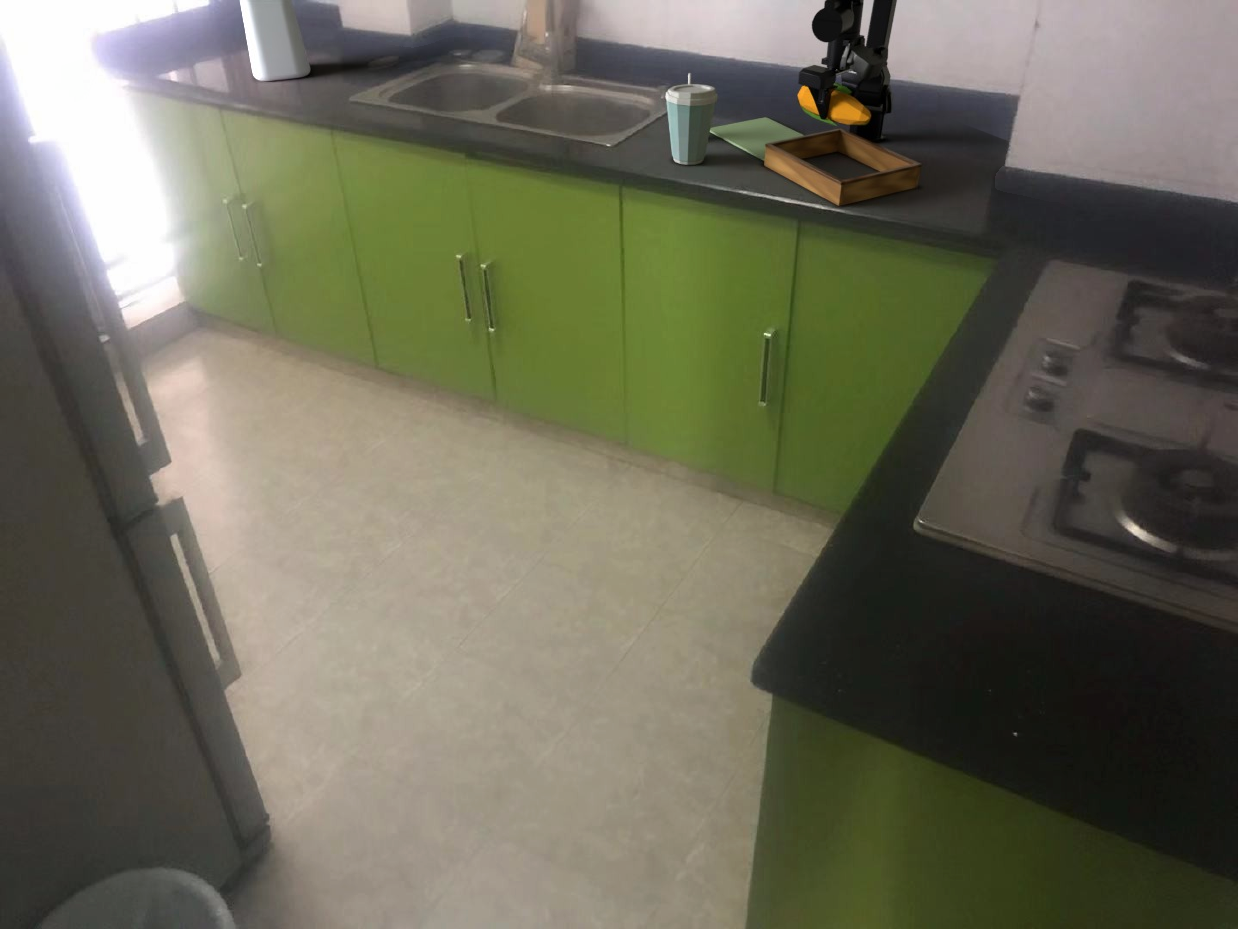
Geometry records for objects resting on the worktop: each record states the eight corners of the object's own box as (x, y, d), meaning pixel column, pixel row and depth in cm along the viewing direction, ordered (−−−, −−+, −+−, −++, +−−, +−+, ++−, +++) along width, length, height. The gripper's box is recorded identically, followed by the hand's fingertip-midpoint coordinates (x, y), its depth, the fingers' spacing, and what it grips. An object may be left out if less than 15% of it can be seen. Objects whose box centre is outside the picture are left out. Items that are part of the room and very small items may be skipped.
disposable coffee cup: (656, 156, 203) (656, 83, 194) (700, 148, 206) (703, 76, 197) (677, 171, 195) (679, 96, 186) (724, 163, 198) (727, 89, 189)
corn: (818, 67, 191) (888, 91, 177) (816, 105, 196) (884, 131, 182) (789, 76, 188) (858, 101, 175) (788, 114, 193) (855, 141, 179)
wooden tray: (838, 149, 203) (840, 127, 201) (918, 187, 185) (922, 163, 183) (763, 165, 197) (764, 143, 194) (838, 206, 179) (841, 182, 176)
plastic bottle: (312, 77, 258) (288, -38, 241) (254, 83, 254) (226, -33, 237) (308, 63, 269) (285, -47, 252) (253, 69, 266) (226, -43, 249)
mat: (765, 119, 221) (765, 116, 221) (828, 149, 204) (829, 146, 203) (706, 130, 215) (706, 128, 215) (766, 162, 198) (766, 160, 198)
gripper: (849, 46, 167) (839, 135, 177) (910, 27, 177) (897, 112, 187) (800, 36, 174) (792, 122, 184) (861, 18, 184) (851, 100, 193)
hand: (835, 114), depth 187 cm, fingers closed on corn, 7 cm apart
